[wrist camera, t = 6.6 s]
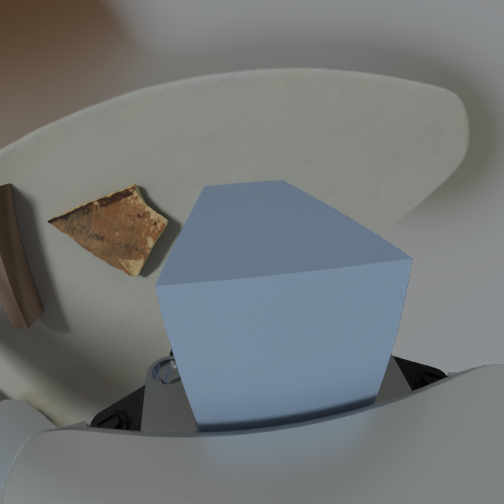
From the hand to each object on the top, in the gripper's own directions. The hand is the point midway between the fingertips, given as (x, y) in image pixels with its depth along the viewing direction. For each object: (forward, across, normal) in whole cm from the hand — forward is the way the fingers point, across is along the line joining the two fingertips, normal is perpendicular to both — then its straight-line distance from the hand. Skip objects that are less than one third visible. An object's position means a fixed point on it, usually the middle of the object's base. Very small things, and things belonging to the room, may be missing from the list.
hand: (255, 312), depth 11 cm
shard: (+15, +12, 0) cm, 19 cm away
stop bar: (+14, +25, 0) cm, 29 cm away
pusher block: (+1, 0, 0) cm, 1 cm away
